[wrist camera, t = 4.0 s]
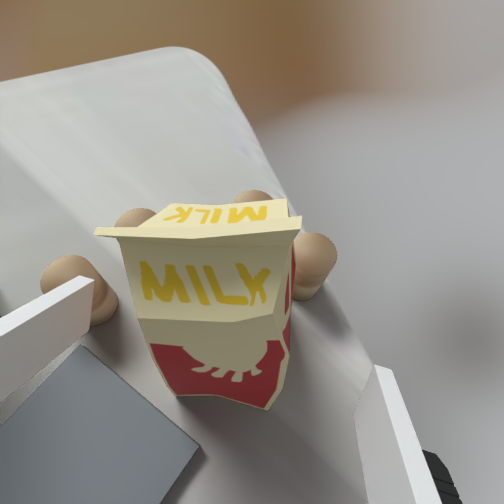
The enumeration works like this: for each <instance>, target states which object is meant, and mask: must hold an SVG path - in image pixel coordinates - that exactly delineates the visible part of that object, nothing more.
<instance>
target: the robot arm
mask: <svg viewBox="0 0 504 504" xmlns="http://www.w3.org/2000/svg"><path fill="white" fill-rule="evenodd" d="M94 281H95V280H93V279H90V278H87V277H83V276H80V275H79V276H77V277H75V278H74V279H72V280H70V281H68V282H66V283H64V284H62V285H61V286H59V287H57V288H55V289H53V290H51V291H49V292H48V293H46V294H44V295H42V296H40V297H38V298H37V299H35V300H33V301H31V302H29V303H27V304H25V305H24V306H22V307H20V308H18V309H16V310H14V311H13V312H11V313H9V314H7V315H5V316H3V317H1V316H0V403H1V402H2V401H3V400H5V399H6V398H7V397H8V396H10V395H11V394H12V393H13V392H14V391H16V390H17V389H18V388H19V387H21V386H22V385H23V384H24V383H26V382H27V381H28V380H29V379H30V378H32V377H33V376H34V375H35V374H37V373H38V372H39V371H40V370H41V369H43V368H44V367H45V366H46V365H48V364H49V363H50V362H51V361H52V360H54V359H55V358H56V357H57V356H59V355H60V354H61V353H62V352H63V351H65V350H66V349H67V348H68V347H70V346H71V345H72V344H73V343H75V342H76V341H77V340H78V339H79V338H81V337H82V336H83V335H84V334H86V333H87V332H88V331H89V327H90V318H91V308H92V299H93V290H94ZM353 415H354V421H355V427H356V433H357V439H358V445H359V451H360V457H361V463H362V469H363V475H364V481H365V487H366V493H367V499H368V504H462V501H461V500H460V499H459V494H458V492H457V490H456V487H454V483H453V481H452V478H451V476H450V474H449V471H448V469H447V468H446V467H445V465H444V464H443V463H442V462H441V460H440V459H439V458H438V456H437V455H436V454H434V453H431V452H428V451H425V450H422V449H421V447H420V444H419V441H418V439H417V436H416V434H415V431H414V428H413V425H412V423H411V420H410V417H409V415H408V412H407V409H406V407H405V404H404V402H403V399H402V396H401V394H400V391H399V388H398V386H397V383H396V380H395V378H394V375H393V372H392V370H391V369H387V368H384V367H380V366H377V365H374V366H373V368H372V371H371V373H370V375H369V378H368V380H367V382H366V385H365V387H364V390H363V392H362V394H361V397H360V399H359V402H358V404H357V406H356V409H355V411H354V413H353Z"/></svg>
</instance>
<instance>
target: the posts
mask: <svg viewBox="0 0 504 504" xmlns="http://www.w3.org/2000/svg"><path fill="white" fill-rule="evenodd" d="M266 200H273V199H272V198H271V197H270V196H269V195H268V194H266V193H264V192H262V191H258V190H249V191H245V192H243V193H241V194H239V195H238V196H237V197H236V198H235V200H234V202H233V204H234V203H245V202H255V201H266ZM154 215H156V213H155V212H153V211H151V210H149V209H144V208H138V209H133V210H130V211H128V212H126V213H124V214H123V215H122V216H121V217H120V218H119V219H118V220H117V222H116V224H115V227H138V226H139V225H141V224H142V223H144V222H145V221H147V220H148V219H150V218H151V217H153V216H154ZM116 239H117V241H118V242H119V240H118V238H116ZM294 247H295V254H296V269H295V279H294V289H293V299H295V300H307V299H310V298H312V297H313V296H314V295H315V294H316V293H317V291H318V290H319V288H320V287H321V285H322V283H323V282H324V280H325V279H326V277H327V276H328V274H329V273H330V271H331V270H332V268H333V267H334V265H335V263H336V260H337V251H336V248H335V246H334V244H333V243H332V241H330V239H329V238H327V237H326V236H324V235H322V234H319V233H314V232H308V233H304V234H301V235H300V236H298V237H297V238H296V239H295V240H294ZM79 275H80V276H83V277H87V278H90V279H93V280H95V281H94V290H93V299H92V308H91V318H90V325H99V324H102V323H104V322H106V321H107V320H109V319H110V318H111V317H112V316H113V314H114V313H115V311H116V309H117V306H118V298H117V295H116V293H115V292H114V291H113V289H112V288H111V287H110V286H109V285H108V283H107V282H106V281H105V280H104V279H103V277H102V276H101V275H100V274H99V273H98V272H97V270H96V269H95V268H94V267H93V266H92V264H91V263H90V262H89V261H88V260H87V259H85V258H83V257H81V256H76V255H69V256H64V257H61V258H59V259H57V260H55V261H54V262H52V263H51V264H50V265H49V266H48V267H47V268H46V269H45V271H44V272H43V275H42V277H41V284H40V285H41V290H42V292H43V294H46V293H48V292H49V291H51V290H53V289H55V288H57V287H59V286H61V285H62V284H64V283H66V282H68V281H70V280H72V279H74V278H75V277H77V276H79Z"/></svg>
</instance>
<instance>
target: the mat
mask: <svg viewBox="0 0 504 504" xmlns="http://www.w3.org/2000/svg"><path fill="white" fill-rule="evenodd" d="M199 446H200V445H199V444H198V443H197V442H196V441H195V440H194V439H192V438H191V437H190V436H189V435H188V434H187V433H185V432H184V431H183V430H182V429H181V428H179V427H178V426H177V425H176V424H175V423H174V422H172V421H171V420H170V419H169V418H168V417H167V416H165V415H164V414H163V413H162V412H161V411H160V410H158V409H157V408H156V407H155V406H154V405H153V404H151V403H150V402H149V401H148V400H147V399H146V398H144V397H143V396H142V395H141V394H140V393H139V392H137V391H136V390H135V389H134V388H133V387H132V386H130V385H129V384H128V383H127V382H126V381H125V380H123V379H122V378H121V377H120V376H119V375H118V374H116V373H115V372H114V371H113V370H112V369H111V368H109V367H108V366H107V365H106V364H105V363H104V362H102V361H101V360H100V359H99V358H98V357H97V356H95V355H94V354H93V353H92V352H91V351H90V350H88V349H87V348H86V347H84V346H83V345H81V344H80V345H79V346H78V347H77V348H76V349H75V350H74V351H73V352H72V353H71V354H70V355H69V356H68V357H67V358H66V359H65V360H64V362H63V363H62V364H61V365H60V366H59V367H58V368H57V369H56V370H55V371H54V372H53V373H52V374H51V375H50V376H49V377H48V378H47V379H46V380H45V381H44V382H43V383H42V385H41V386H40V387H39V388H38V389H37V390H36V391H35V392H34V393H33V394H32V395H31V396H30V397H29V398H28V399H27V400H26V401H25V402H24V403H23V404H22V405H21V406H20V407H19V409H18V410H17V411H16V412H15V413H14V414H13V415H12V416H11V417H10V418H9V419H8V420H7V421H6V422H5V423H4V424H3V425H2V426H1V427H0V504H160V503H161V502H162V500H163V499H164V497H165V496H166V494H167V493H168V491H169V490H170V488H171V487H172V486H173V484H174V483H175V481H176V480H177V478H178V477H179V475H180V474H181V473H182V471H183V470H184V468H185V467H186V465H187V464H188V462H189V461H190V460H191V458H192V457H193V455H194V454H195V452H196V451H197V449H198V448H199Z"/></svg>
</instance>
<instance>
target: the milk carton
mask: <svg viewBox="0 0 504 504" xmlns="http://www.w3.org/2000/svg"><path fill="white" fill-rule="evenodd" d="M301 220H302V216H296V217H290V216H289V209H288V203H287V199H276V200H266V201H255V202H245V203H234V204H224V205H198V204H179V203H172V204H171V205H169V206H168V207H166V208H165V209H163V210H162V211H160V212H159V213H157V214H156V215H154V216H153V217H151V218H150V219H148V220H147V221H145V222H144V223H142V224H141V225H139V226H138V227H96V230H95V232H94V235H98V236H105V237H113V238H118V240H119V244H120V248H121V252H122V256H123V260H124V264H125V268H126V272H127V276H128V281H129V285H130V289H131V293H132V297H133V301H134V305H135V309H136V313H137V317H138V320H139V323H140V326H141V329H142V331H143V334H144V337H145V339H146V342H147V345H148V348H149V350H150V353H151V356H152V358H153V361H154V362H155V364H156V366H157V368H158V370H159V372H160V374H161V376H162V378H163V380H164V382H165V384H166V385H167V387H168V388H169V389H170V391H171V392H172V393H173V394H174V396H212V395H216V396H219V397H223V398H226V399H229V400H233V401H236V402H240V403H243V404H246V405H250V406H253V407H257V408H260V409H263V410H267V411H268V410H269V408H270V407H271V405H272V404H273V403H274V401H275V400H276V398H277V397H278V395H279V394H280V392H281V391H282V389H283V386H284V381H285V376H286V371H287V366H288V361H289V356H290V315H291V306H292V298H293V289H294V279H295V269H296V254H295V247H294V241H293V240H294V238H295V237H296V235H297V234H298V232H299V231H300V229H301Z"/></svg>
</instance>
